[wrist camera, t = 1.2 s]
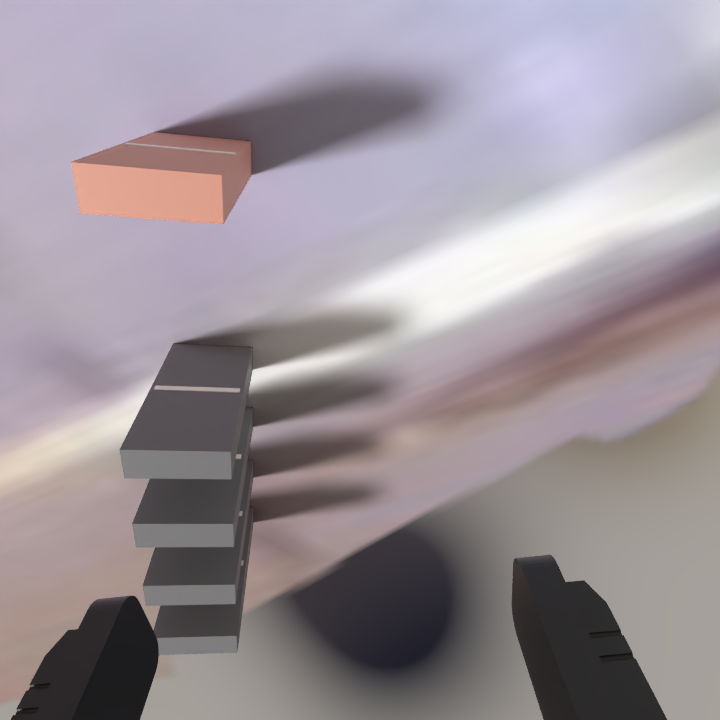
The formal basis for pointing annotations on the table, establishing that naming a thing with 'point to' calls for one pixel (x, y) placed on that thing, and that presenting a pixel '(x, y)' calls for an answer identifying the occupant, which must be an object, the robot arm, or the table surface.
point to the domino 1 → (164, 178)
